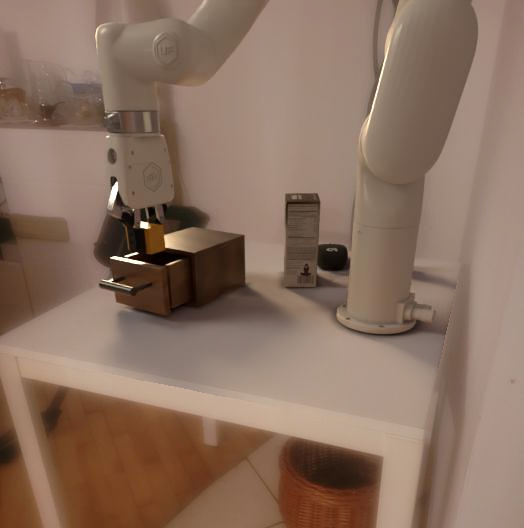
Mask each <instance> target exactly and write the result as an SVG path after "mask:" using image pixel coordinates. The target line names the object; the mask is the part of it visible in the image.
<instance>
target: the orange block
mask: <svg viewBox="0 0 524 528" xmlns="http://www.w3.org/2000/svg"><path fill="white" fill-rule="evenodd" d="M140 228H144V234H145V244H146V253H147V254H154V253H157V252H161V251H164V250H165V239H164V235H165V230H164V224H162V225H159V224H152V223H146V221H141V226H140ZM125 234H126V242H127V250H128V251H130V250H129V242H128V234H127V227H125Z"/></svg>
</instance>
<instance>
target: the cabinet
mask: <svg viewBox="0 0 524 528" xmlns="http://www.w3.org/2000/svg"><path fill="white" fill-rule="evenodd" d="M164 239H165V250H164V251H163V252H168V253H174V254H179V255H184V256H189V257H191V264H192V278H193V292H194V299H192V300H190V301H187V302H185V303H183V304H182V305H186V306H189V307H194V308H200V307H202V306H205V305H206V304H208V303H211V302H212V301H214V300H215V299H218V298H220V297H223V296H224V295H227V294H228V293H230V292H233V291H235V290H236V289H239V288H241V287H242V286H245V285H246V284H247V283H246V236H245V234H241V233H236V232H235V233H234V232H228V231H222V230H214V229H208V228H202V227H201V228H200V227H194V226H190V227H188V228H184V229H181V230H177V231H174V232H170V233H167V234H164Z"/></svg>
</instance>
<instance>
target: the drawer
mask: <svg viewBox="0 0 524 528" xmlns="http://www.w3.org/2000/svg"><path fill="white" fill-rule="evenodd" d="M109 262H110V269H111V270H110V271H111V279H109V280H106V279H100V280H99V282H98V286H99V288H100V289H101V290H102V289H103V290H107V291H110V292H114V297H115V303H117V304H121V305H125V306H128V307H131V308H136V309H139V310H143V311H147V312H150V313H153V314H157V315H160V316H165V317H166V316H168V315H170V314H171V309H175V308H176V307H179V306H181V305H184V304H183V303H185V302H187V301H190V300H192V299H194V292H193V278H192V264H191V257H189V256H184V255H179V254H174V253H168V252H163V251H161V252H157V253H154V254H147V253H144V254H140V253H135V252H133V253H130V254H127V255H124V257H120V256H112V257H111V256H110V257H109Z"/></svg>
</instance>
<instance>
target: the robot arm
mask: <svg viewBox="0 0 524 528" xmlns="http://www.w3.org/2000/svg"><path fill="white" fill-rule="evenodd" d="M269 2H270V0H202V1H201V2H200V4H199V6H198V7H197V8H196V10H195V11H194V12H193V14H192V15H191V17H190V18H189V19H188V20H187V21H185V20H182V19H180V18H175V17H165V18H159V19H154V20H151V21H145V22H139V23H134V22H125V21H124V22H123V21H121V22H120V21H117V22H116V21H115V22H113V21H112V22H106V23H103V24H100V25H99V26H97V28H96V32H95V45H96V52H97V60H98V69H99V76H100V83H101V91H102V98H103V106H104V115H105V116H103V118H102V119H101V122H102V125H103V127H104V128H106V130H107V136H105V141H104V142H105V143H104V146H105V147H104V160H105V161H104V166H105V180H106V189H107V195H108V203H107V207H106V211H105V212H106V214H107V215H109V216H111V217H114V218H115V219H117V220H118V221H119V222H120V223H121V224H122V227H124V228H126V227H127V234H128V242H129V250H128V251H130V252H131V253H140V254H144V253H146V244H145V234H144V228H140V226H141V222H142V220H141V217H142V216H141V210H142V209H144V210H145V215H146V219H147V220H146V221H145V222H146V223H152V224H159V225H163V223H164V222H165V214H166V213H167V211H168V208H170V206H171V205H172V204H173V203H174V200H175V199H174V198H175V184H174V177H173V169H172V162H171V156H170V152H169V148H168V144H167V141H166V137H165V135H164V134H161V124H160V112H159V99H158V89H157V88H158V87H157V83H161V84H167V85H172V86H181V87H184V86H185V87H199V86H202V85H204V84H205V83H207V82H208V81H210V80H211V79H213V77H214V76H215V75H216V74H217V73H218V72H219V70H220V69H221V68H222V67H223V66H224V64H225V63H226V62H227V61H228V59H229V58H230V57H231V56H232V55H233V54H234V52H236V49H237V48H238V47H239V46H240V45H241V44H242V42H243V40H244V39H245V38H246V36H247V35H248V33H249V32H250V30H251V29H252V27H253V26H254V24H255V23H256V21H257V20H258V18H259V17H260V16H261V14H262V12H263V11H264V9H265V8H266V7H267V6H268V4H269ZM472 2H473V0H398V2H397V3H398V4H397V7H396V10H395V14H394V17H393V20H392V22H391V25H390V27H389V28H388V29H389V30H388V32H387V35H386V37H385V38H386V39H385V42H384V43H385V44H384V60H383V64H382V68H381V71H380V76H379V80H378V84H377V87H376V91H375V95H374V99H373V102H372V106H371V109H370V113H369V114H368V115H367V117H366V118H365V120H364V122H363V124H362V125H361V129H360V132H359V137H358V143H357V144H358V145H357V167H356V183H355V185H356V186H355V200H354V214H353V221H352V222H353V223H352V236H351V249H350V259H349V261H350V263H349V271H348V272H349V273H348V274H349V275H348V284H347V285H348V286H347V298H346V299H347V300H346V301H345V302H343V303H341V304H340V305H339V306H338V307H337V309H336V314H335V315H336V319H337V320H338V322H339V323H341V324H342V325H343V326H345V327H346V328H349V329H351V330H353V331H358V332H361V333H366V334H372V335H373V334H374V335H394V334H401V333H403V332H407V331H409V330H411V329H413V328H414V327H415V326H416V324H417V320H418V321H420V322H424V323H430V324H433V323H434V322H435V319H436V316H437V315H436V314H437V311H436V310H434V309H433V307H432V305H429V304H424V303H423V304H422V303H418V301H417V300H415V299H416V298H415V297H416V293H415V292H411V289H412V288H411V287H412V281H413V274H414V266H415V259H416V252H417V244H418V238H419V232H420V225H421V219H422V218H421V217H422V210H423V201H424V192H425V181H426V179H425V178H426V174H428V172H429V171H430V170H431V169H432V168H433V167H434V165H436V163H437V161H438V160H439V158H440V156H441V154H442V152H443V150H444V147H445V144H446V142H447V139H448V137H449V134H450V130H451V128H452V125H453V122H454V119H455V116H456V113H457V111H458V109H459V108H458V107H459V104H460V102H461V98H462V95H463V92H464V90H465V87H466V84H467V80H468V78H469V75H470V72H471V69H472V65H473V62H474V59H475V55H476V50H477V45H478V38H479V21H478V16H477V13H476V11H475V9H474V5H472Z"/></svg>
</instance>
